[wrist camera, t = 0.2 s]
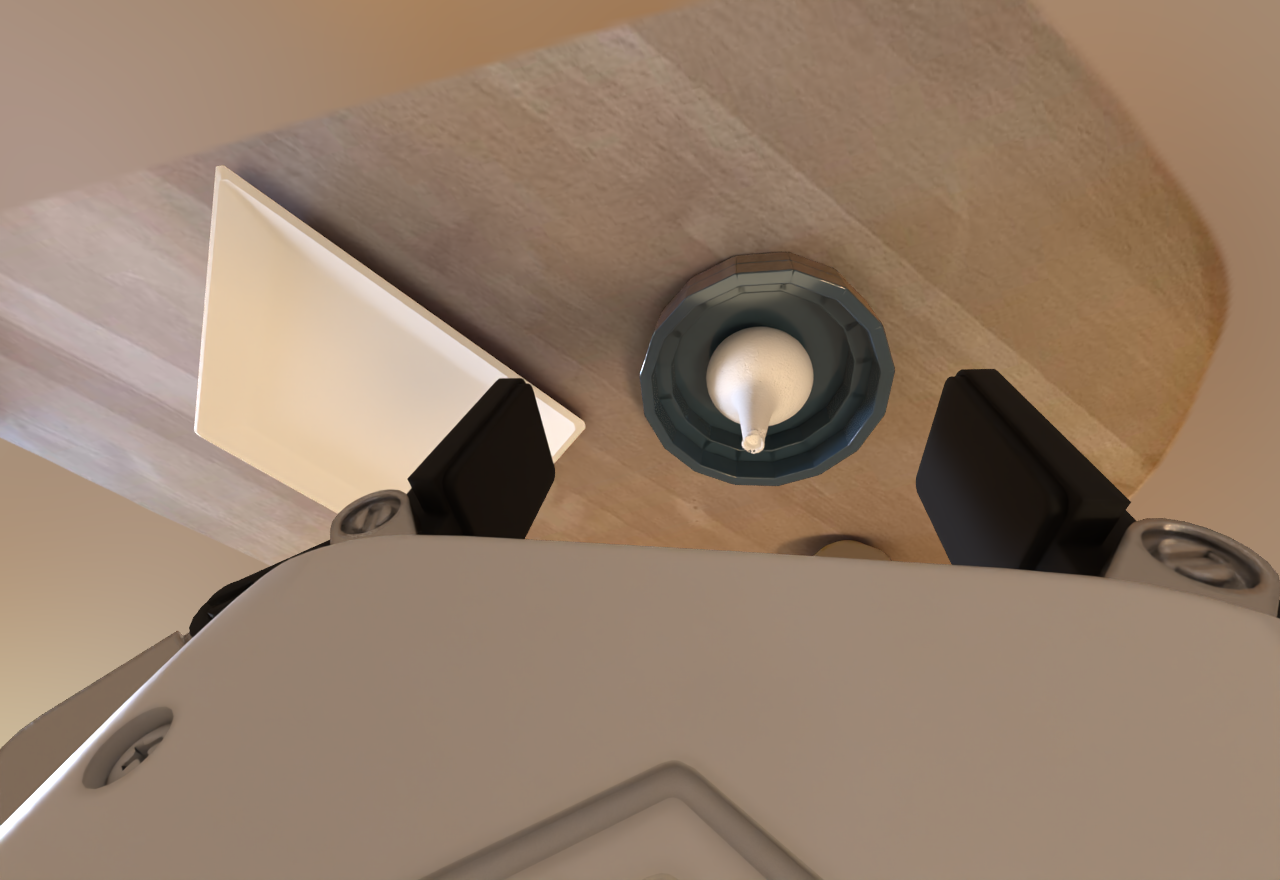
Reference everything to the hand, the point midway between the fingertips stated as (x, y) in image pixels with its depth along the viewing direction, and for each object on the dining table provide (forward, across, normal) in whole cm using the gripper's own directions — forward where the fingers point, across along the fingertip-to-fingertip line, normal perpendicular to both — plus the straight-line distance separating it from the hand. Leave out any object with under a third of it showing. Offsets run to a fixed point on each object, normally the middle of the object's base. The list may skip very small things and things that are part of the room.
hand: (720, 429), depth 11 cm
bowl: (+18, -2, +7) cm, 20 cm away
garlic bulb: (+18, -2, +7) cm, 20 cm away
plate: (+19, +28, +11) cm, 36 cm away
